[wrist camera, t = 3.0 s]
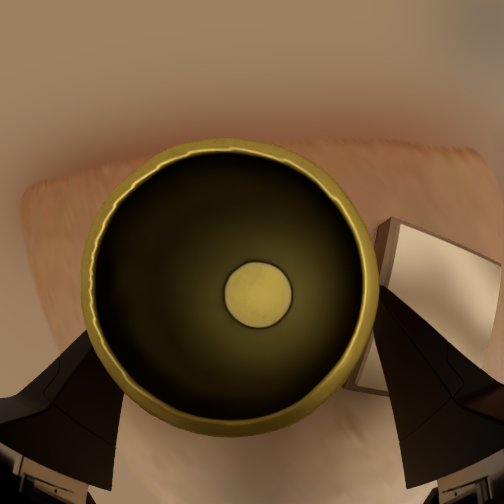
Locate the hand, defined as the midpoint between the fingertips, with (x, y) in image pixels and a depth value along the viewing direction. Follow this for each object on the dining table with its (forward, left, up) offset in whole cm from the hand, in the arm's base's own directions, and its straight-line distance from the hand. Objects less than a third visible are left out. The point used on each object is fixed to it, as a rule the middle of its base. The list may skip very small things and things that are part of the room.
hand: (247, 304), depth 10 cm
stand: (+3, -12, -9) cm, 15 cm away
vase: (0, 0, -9) cm, 9 cm away
